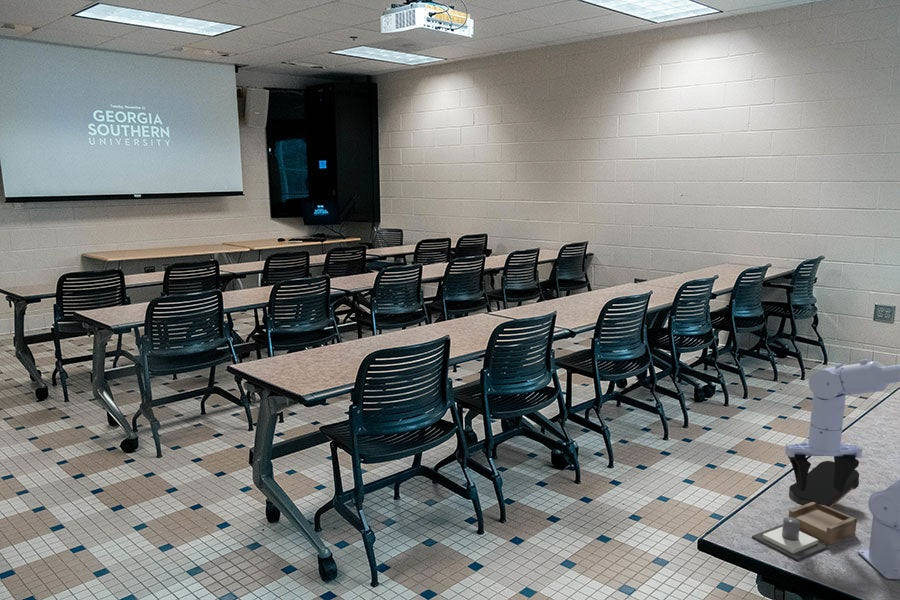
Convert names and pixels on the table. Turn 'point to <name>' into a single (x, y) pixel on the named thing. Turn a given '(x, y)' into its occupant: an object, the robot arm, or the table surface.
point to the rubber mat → (796, 556)
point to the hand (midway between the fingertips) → (819, 489)
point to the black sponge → (822, 486)
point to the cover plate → (790, 544)
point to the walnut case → (824, 522)
